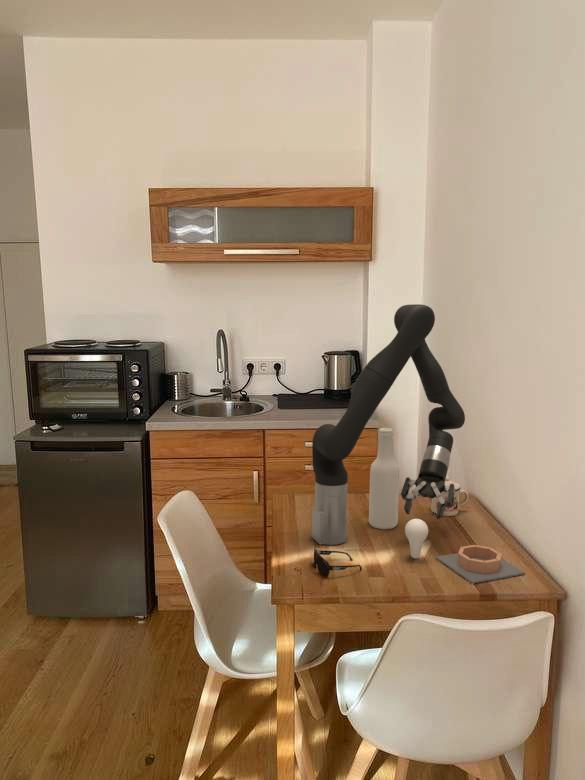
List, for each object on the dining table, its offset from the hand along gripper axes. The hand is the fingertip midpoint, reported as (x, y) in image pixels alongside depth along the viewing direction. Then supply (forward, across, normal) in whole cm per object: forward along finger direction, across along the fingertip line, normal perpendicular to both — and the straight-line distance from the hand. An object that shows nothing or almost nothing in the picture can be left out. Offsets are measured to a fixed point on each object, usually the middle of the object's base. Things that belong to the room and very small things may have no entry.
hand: (422, 515), depth 174 cm
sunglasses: (+22, -16, -7) cm, 28 cm away
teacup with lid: (-18, -1, +33) cm, 37 cm away
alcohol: (-3, -16, +18) cm, 24 cm away
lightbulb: (+11, 0, +4) cm, 12 cm away
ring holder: (+9, +16, +6) cm, 19 cm away
